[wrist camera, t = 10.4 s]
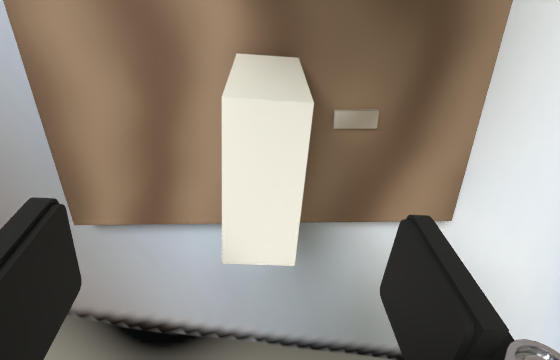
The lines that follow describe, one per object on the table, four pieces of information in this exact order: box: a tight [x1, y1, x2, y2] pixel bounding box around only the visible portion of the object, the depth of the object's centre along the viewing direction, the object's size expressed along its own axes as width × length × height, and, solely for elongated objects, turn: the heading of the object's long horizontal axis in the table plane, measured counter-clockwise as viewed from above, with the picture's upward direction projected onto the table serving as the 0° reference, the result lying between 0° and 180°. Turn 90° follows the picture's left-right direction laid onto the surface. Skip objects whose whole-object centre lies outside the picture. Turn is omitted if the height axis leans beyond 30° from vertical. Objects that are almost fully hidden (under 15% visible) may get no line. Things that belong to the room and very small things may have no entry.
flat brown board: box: [3, 0, 513, 225], centre depth 21 cm, size 24×14×2 cm, turn 90°
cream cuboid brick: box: [222, 53, 314, 266], centre depth 18 cm, size 10×3×7 cm, turn 176°
